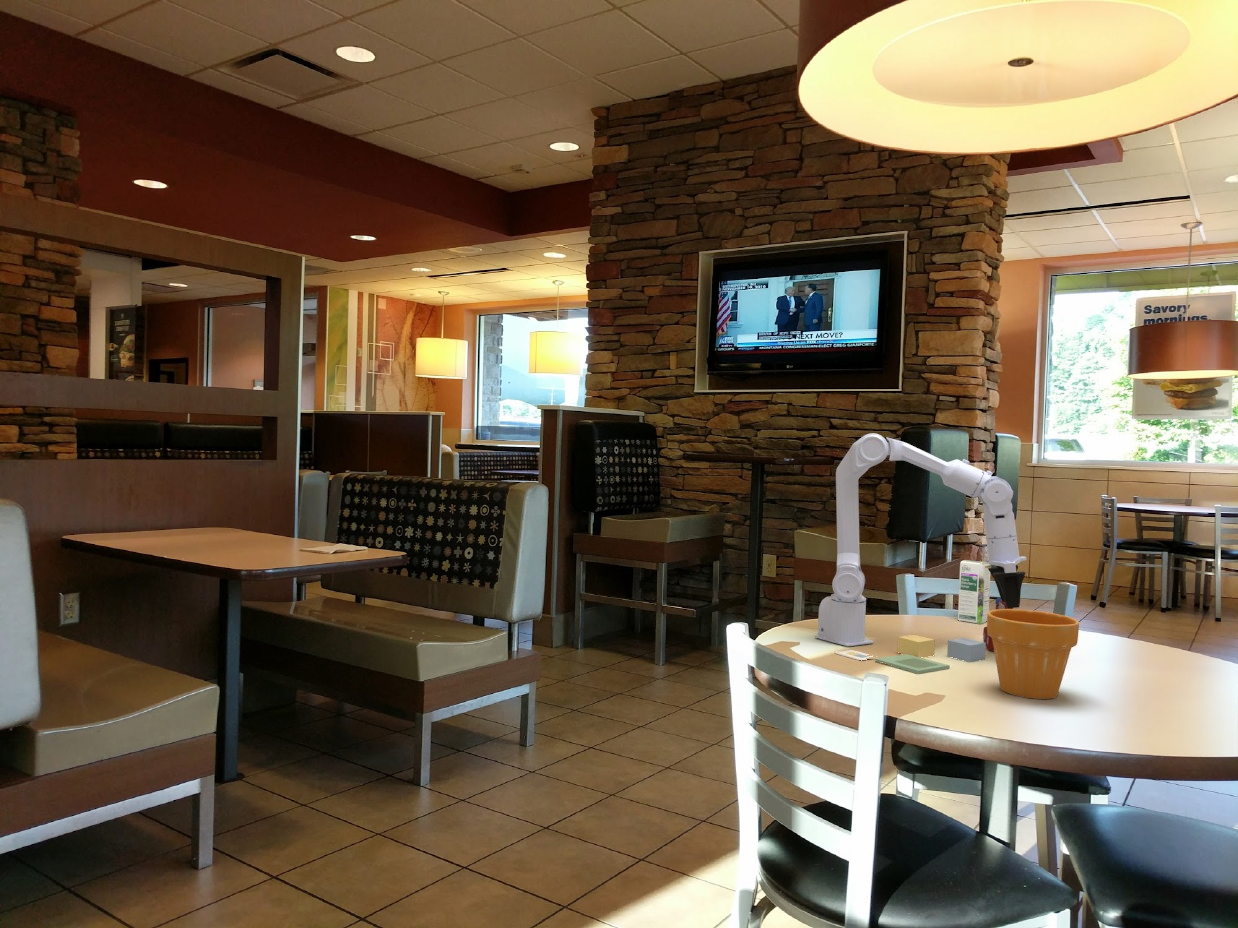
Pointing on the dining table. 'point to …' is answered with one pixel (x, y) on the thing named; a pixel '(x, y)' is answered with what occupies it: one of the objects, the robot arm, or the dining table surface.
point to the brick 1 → (916, 646)
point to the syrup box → (974, 591)
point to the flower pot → (1031, 650)
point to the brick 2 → (966, 649)
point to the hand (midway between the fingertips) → (1010, 604)
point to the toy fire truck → (986, 637)
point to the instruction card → (854, 654)
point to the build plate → (913, 663)
